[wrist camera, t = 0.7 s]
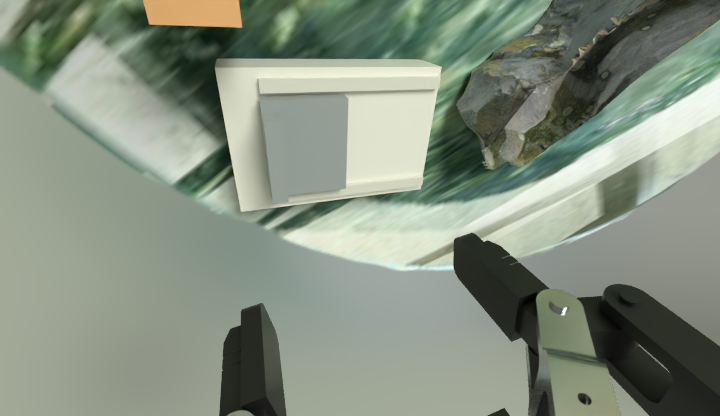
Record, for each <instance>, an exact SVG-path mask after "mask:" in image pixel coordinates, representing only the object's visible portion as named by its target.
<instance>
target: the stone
mask: <svg viewBox="0 0 720 416" xmlns="http://www.w3.org/2000/svg"><path fill="white" fill-rule="evenodd" d="M718 20H720V0H554V1H553V3H552V4H551V6H550V7H549V9H548V10H547V12H546V13H545V14H544V15H543V17H542V18H541V19H540V21H539V22H538V23H537V24H536V25H535V26H534V28H532V29H531V30H530V31H529V33H527V34H526V35H523V36H520V37H517V38H514V39H512V40H511V41H510V42H508V43H507V44H505V45H504V46H503V47H501V48H499V49H497V50H495V51H494V53H493V55H492V57H491V58H489V59H488V60H486V61H485V62H484V63H483V64H482V65H480V66H479V67H477V68H476V69H474V70H473V71H472V73H471V77H470V81H469V83H468V85H467V87H466V89H465V91H464V93H463V95H462V97H461V98H460V99H459V100H458V102H457V104H456V106H457V108H458V110H459V112H460V114H461V116H462V118H463V120H464V122H465V123H466V125H467V127H469V128H470V129H471V130H473V131H474V132H475V133H476V134H477V136H478V138H479V141H480V145H481V151H482V154H483V157H484V159H485V162H484V161H483V162H482V163H483V164H484V163H486V164H484V165H483V166H487V167H485V169H491V170H493V169H496V168H497V167H498V166H500V165H502V164H503V163H505V162H508V163H510V164H511V165H513V166H523V165H525V164H527V163H528V162H529V161H531V160H532V159H534V158H535V157H536V156H538V155H539V154H541V153H542V152H544V151H545V150H546V149H547V148H548V147H550V146H551V145H553V144H554V143H556V142H557V141H558V140H560V139H562V138H563V137H565V136H566V135H568V134H569V133H571V132H572V131H574V130H575V129H577V128H578V127H580V126H581V125H583V124H584V123H586V122H587V121H588V120H589V119H590V118H592V117H594V116H596V115H597V114H598V113H599V112H600V111H601V110H602V109H603V108H604V107H605V106H606V105H607V104H609V103H610V102H611V101H612V100H613V99H614V98H615V97H617V96H618V95H619V94H620V93H621V92H622V91H624V90H625V89H626V88H627V87H628V86H629V85H630V84H631V83H633V82H634V81H635V80H636V79H638V78H639V77H640V76H641V75H643V74H644V73H645V72H646V71H648V70H649V69H650V68H652V67H653V66H654V65H656V64H657V63H658V62H660V61H661V60H662V59H664V58H665V57H667V56H668V55H670V54H671V53H673V52H674V51H676V50H677V49H679V48H680V47H682V46H683V45H685V44H686V43H688V42H689V41H691V40H692V39H694V38H695V37H697V36H698V35H699V34H701V33H702V32H703V31H705V30H706V29H707V28H709V27H710V26H711V25H713V24H714V23H716V22H717V21H718ZM548 82H550V84H551V88H550V87H549V85H548Z"/></svg>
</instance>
